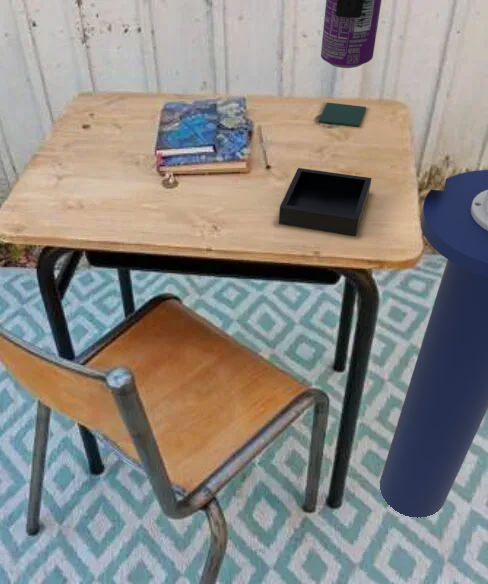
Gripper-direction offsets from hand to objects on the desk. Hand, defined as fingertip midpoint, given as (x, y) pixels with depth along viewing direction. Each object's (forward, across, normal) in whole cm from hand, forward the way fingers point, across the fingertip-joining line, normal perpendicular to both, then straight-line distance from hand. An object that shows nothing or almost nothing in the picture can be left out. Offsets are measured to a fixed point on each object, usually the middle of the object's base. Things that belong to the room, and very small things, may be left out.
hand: (353, 4), depth 85 cm
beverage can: (+7, 0, 0) cm, 7 cm away
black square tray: (+24, -12, -1) cm, 26 cm away
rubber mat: (+24, +18, +1) cm, 30 cm away
